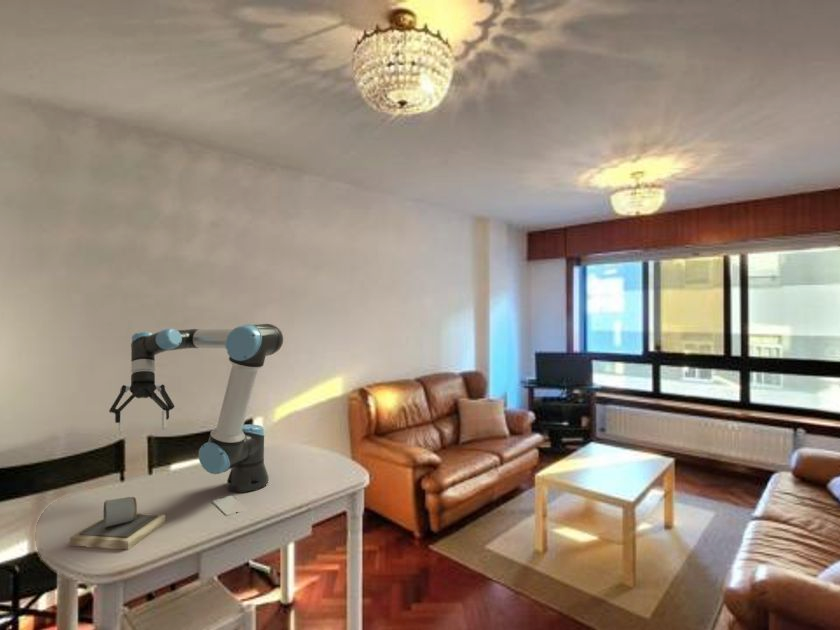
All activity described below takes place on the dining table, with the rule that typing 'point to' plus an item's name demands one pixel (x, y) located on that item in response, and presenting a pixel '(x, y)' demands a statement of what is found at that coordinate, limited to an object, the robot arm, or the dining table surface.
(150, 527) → the wooden picture frame
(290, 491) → the dining table surface
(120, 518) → the ceramic mug
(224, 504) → the smartphone
